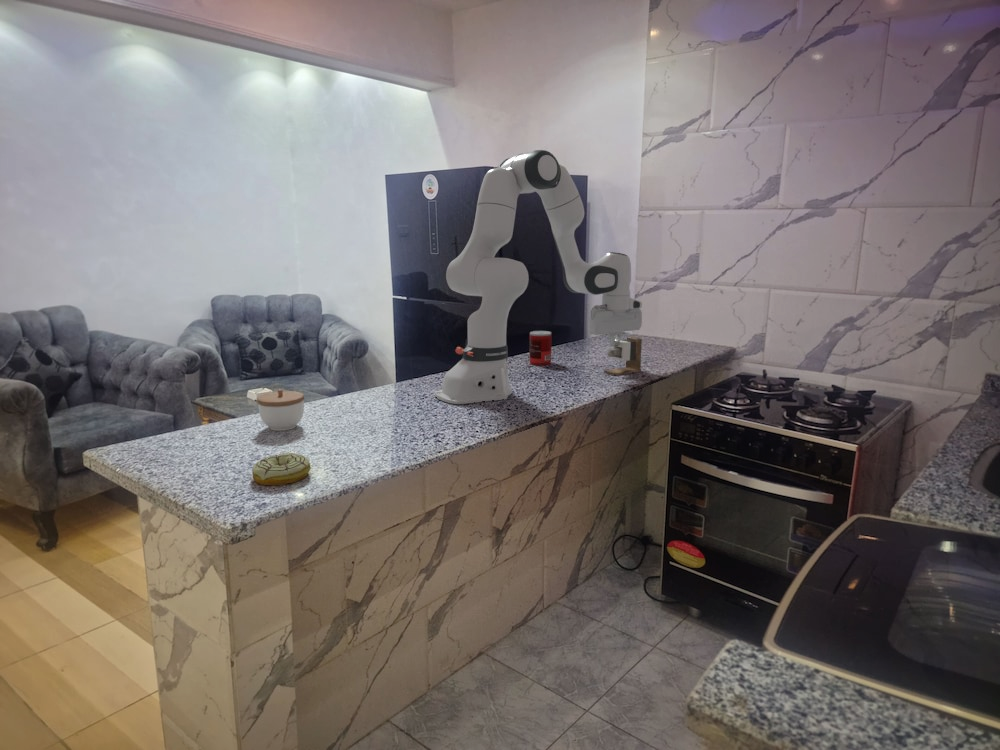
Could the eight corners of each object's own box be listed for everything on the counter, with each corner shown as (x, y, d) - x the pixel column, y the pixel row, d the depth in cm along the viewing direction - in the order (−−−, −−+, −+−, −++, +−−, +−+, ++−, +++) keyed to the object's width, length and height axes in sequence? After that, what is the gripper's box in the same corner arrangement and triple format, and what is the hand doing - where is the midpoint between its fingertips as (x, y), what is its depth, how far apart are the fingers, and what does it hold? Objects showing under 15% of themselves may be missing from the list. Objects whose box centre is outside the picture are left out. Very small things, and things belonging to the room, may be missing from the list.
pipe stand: (613, 375, 214) (615, 342, 212) (603, 373, 218) (604, 340, 216) (641, 371, 220) (642, 338, 218) (630, 368, 224) (631, 336, 222)
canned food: (551, 361, 238) (551, 330, 235) (550, 365, 230) (551, 334, 227) (530, 360, 238) (530, 330, 236) (528, 365, 231) (529, 334, 228)
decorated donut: (247, 475, 131) (245, 457, 130) (301, 464, 136) (300, 447, 135) (260, 492, 122) (258, 473, 121) (317, 480, 128) (316, 461, 127)
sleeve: (623, 361, 215) (623, 343, 214) (612, 358, 219) (612, 340, 218) (629, 360, 216) (630, 342, 215) (618, 357, 221) (619, 340, 219)
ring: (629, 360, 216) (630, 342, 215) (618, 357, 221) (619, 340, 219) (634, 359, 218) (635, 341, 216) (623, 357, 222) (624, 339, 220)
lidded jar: (315, 424, 163) (312, 387, 161) (281, 436, 154) (277, 397, 152) (284, 418, 168) (282, 382, 166) (250, 429, 159) (246, 391, 157)
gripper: (597, 306, 204) (596, 350, 207) (645, 302, 215) (644, 344, 218) (584, 304, 209) (583, 347, 212) (632, 300, 220) (630, 341, 223)
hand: (614, 345), depth 215 cm, fingers closed
